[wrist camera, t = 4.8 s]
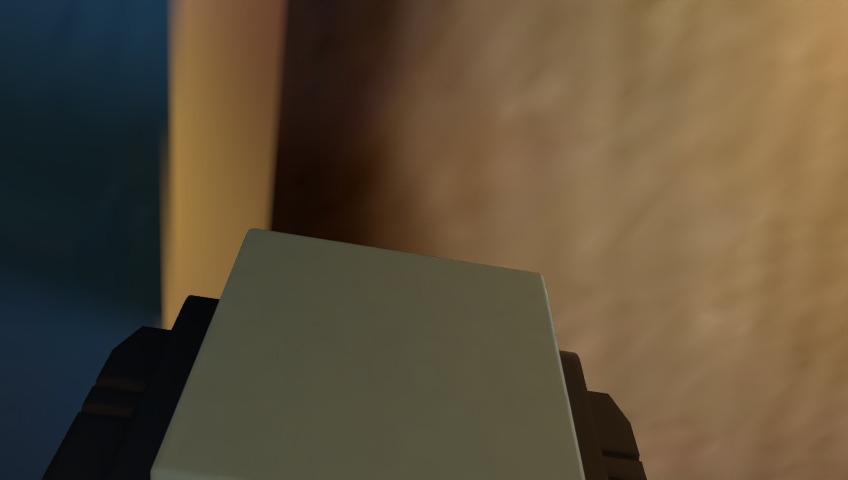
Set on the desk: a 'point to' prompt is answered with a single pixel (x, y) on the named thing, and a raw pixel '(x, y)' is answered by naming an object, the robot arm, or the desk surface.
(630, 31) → the desk surface
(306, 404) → the block
